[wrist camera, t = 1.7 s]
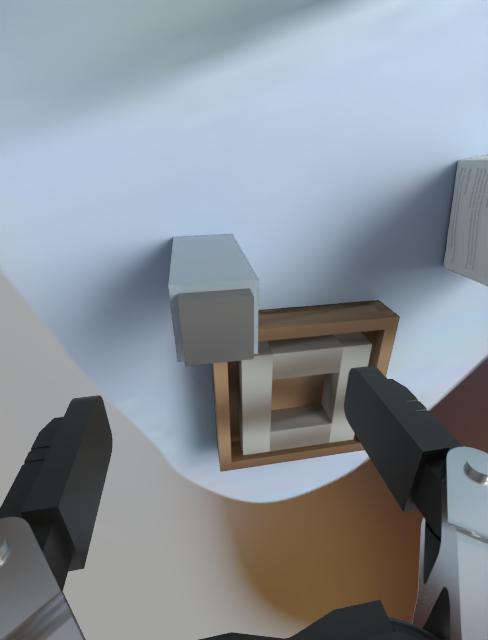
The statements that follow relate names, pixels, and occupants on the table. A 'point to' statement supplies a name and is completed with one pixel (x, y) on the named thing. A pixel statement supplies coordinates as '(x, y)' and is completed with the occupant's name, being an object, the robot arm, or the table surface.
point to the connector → (213, 300)
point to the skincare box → (469, 221)
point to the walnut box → (298, 383)
